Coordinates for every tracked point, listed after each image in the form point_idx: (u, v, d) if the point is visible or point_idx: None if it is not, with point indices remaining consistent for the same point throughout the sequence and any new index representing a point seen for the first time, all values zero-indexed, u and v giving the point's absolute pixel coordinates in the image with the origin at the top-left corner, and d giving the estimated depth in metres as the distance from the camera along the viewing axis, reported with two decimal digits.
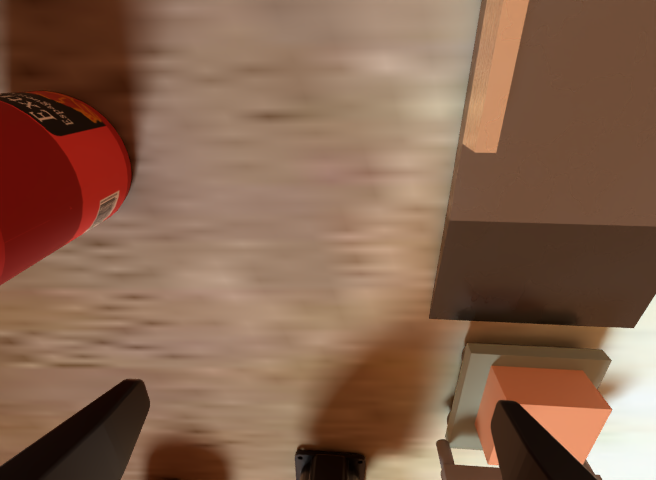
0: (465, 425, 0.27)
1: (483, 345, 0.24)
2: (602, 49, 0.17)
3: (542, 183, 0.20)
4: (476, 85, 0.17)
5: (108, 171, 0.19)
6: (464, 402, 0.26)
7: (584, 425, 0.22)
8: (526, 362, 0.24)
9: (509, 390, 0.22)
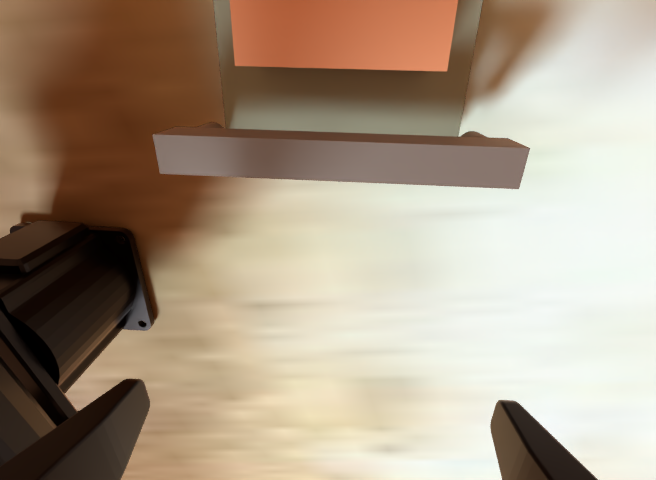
0: (244, 71, 0.13)
1: None
2: None
3: None
4: None
5: None
6: None
7: None
8: None
9: None
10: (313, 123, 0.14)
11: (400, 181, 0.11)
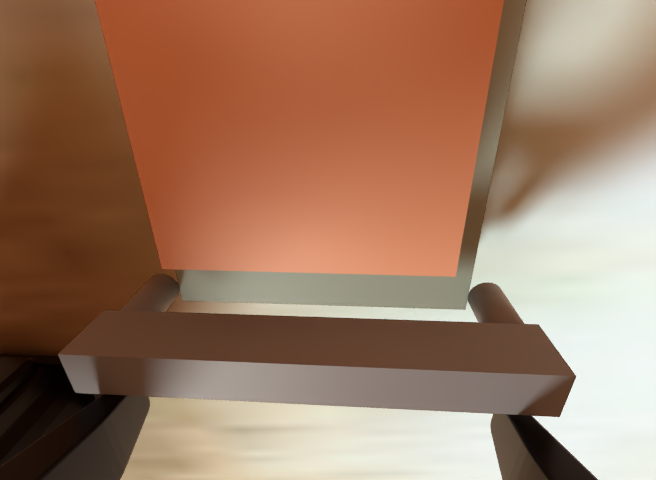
0: None
1: None
2: None
3: None
4: None
5: None
6: None
7: (424, 9, 0.05)
8: None
9: None
10: (285, 274, 0.11)
11: (395, 406, 0.08)
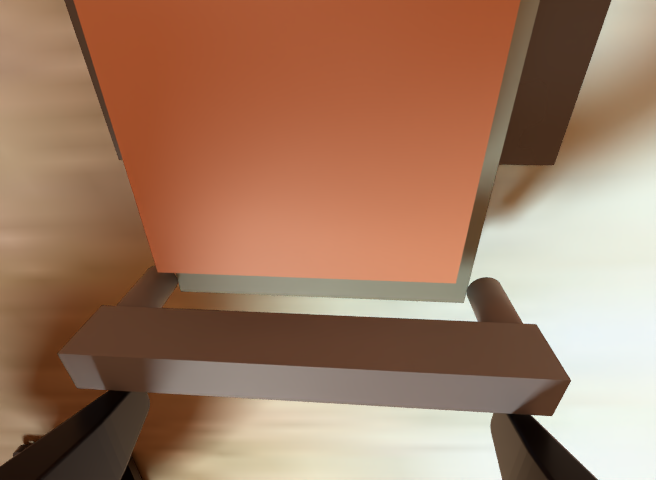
0: None
1: None
2: None
3: None
4: None
5: None
6: None
7: (432, 10, 0.05)
8: None
9: None
10: None
11: (392, 404, 0.08)
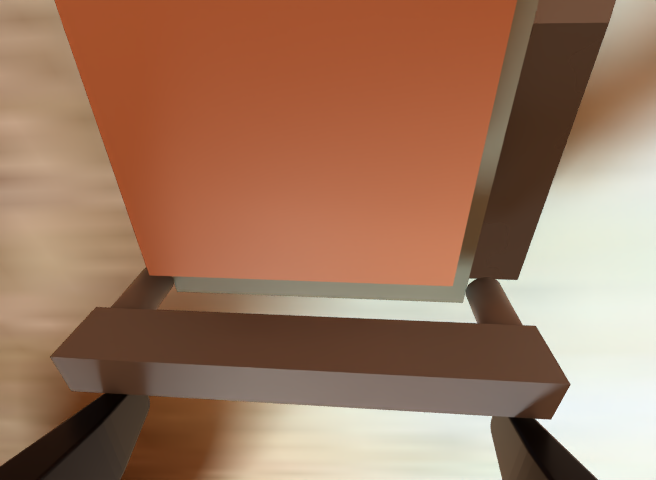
0: None
1: None
2: None
3: None
4: None
5: None
6: None
7: (426, 5, 0.04)
8: None
9: None
10: None
11: (388, 407, 0.08)
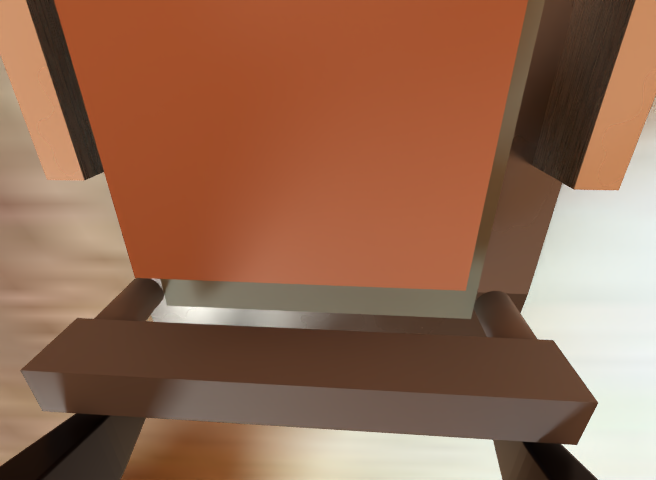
0: None
1: None
2: None
3: None
4: None
5: None
6: None
7: None
8: None
9: None
10: None
11: (395, 430, 0.07)
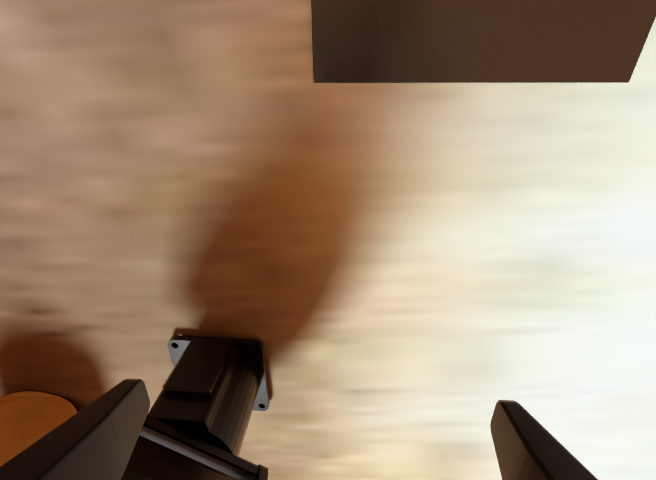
0: None
1: None
2: None
3: None
4: None
5: None
6: None
7: None
8: None
9: None
10: None
11: None
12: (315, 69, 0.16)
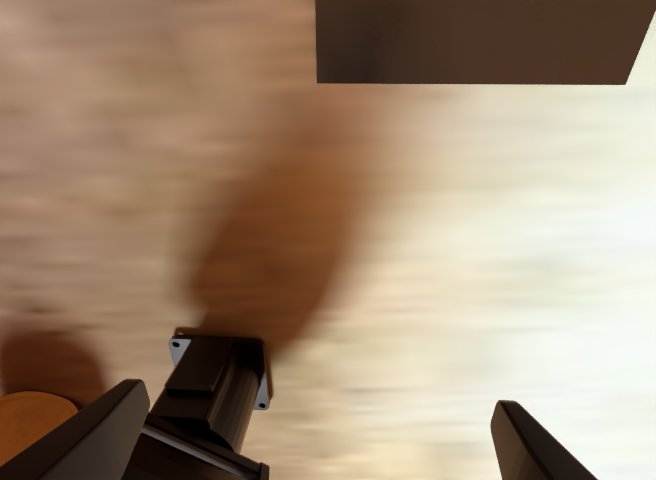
0: None
1: None
2: None
3: None
4: None
5: None
6: None
7: None
8: None
9: None
10: None
11: None
12: (318, 70, 0.16)
